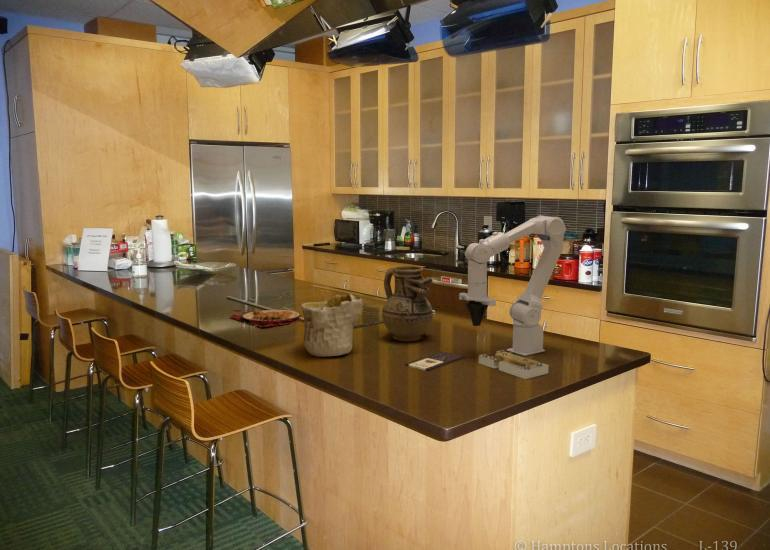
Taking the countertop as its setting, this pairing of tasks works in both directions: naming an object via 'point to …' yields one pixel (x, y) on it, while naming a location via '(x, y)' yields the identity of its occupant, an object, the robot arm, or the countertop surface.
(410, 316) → the decorative pitcher
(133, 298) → the countertop surface
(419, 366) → the chocolate bar
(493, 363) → the chain end
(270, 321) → the plate with food
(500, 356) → the riveted link plate
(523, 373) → the chain end
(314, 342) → the ceramic vessel
